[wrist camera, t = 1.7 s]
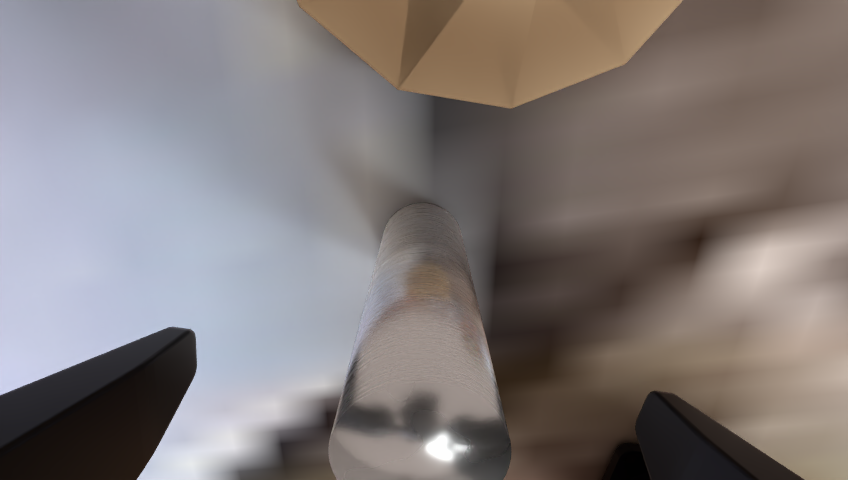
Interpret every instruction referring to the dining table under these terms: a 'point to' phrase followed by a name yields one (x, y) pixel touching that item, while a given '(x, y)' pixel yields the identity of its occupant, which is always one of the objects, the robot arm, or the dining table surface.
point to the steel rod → (420, 365)
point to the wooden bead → (490, 42)
